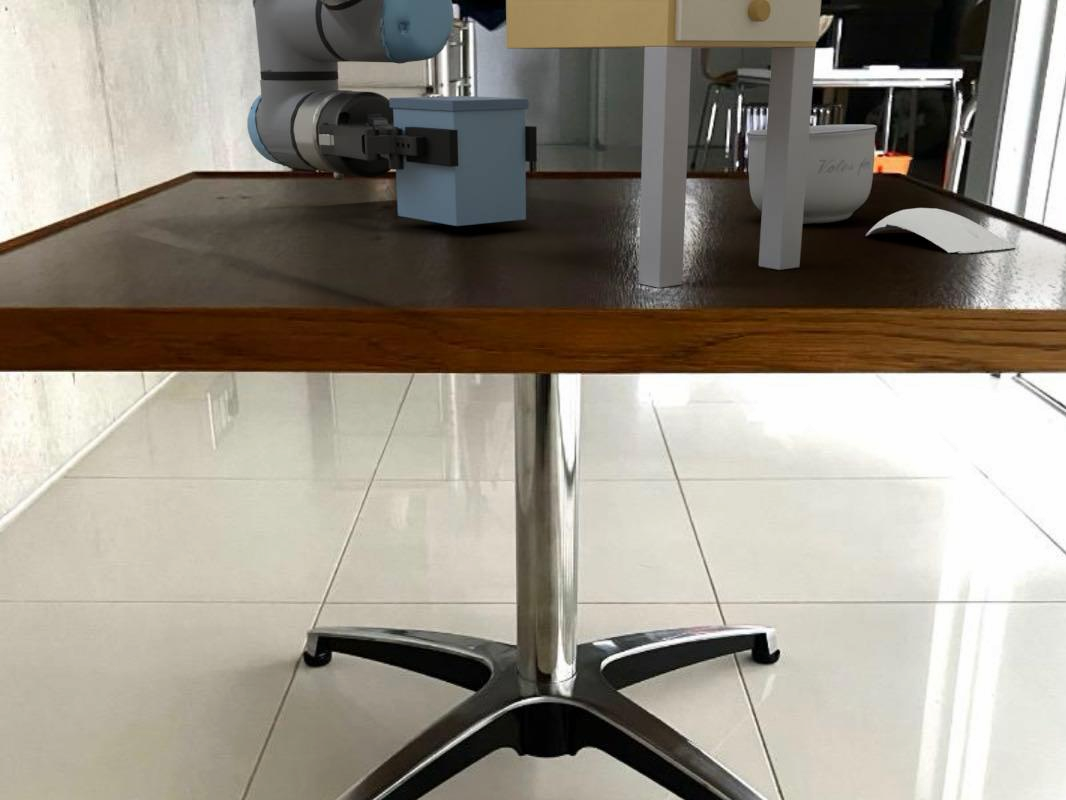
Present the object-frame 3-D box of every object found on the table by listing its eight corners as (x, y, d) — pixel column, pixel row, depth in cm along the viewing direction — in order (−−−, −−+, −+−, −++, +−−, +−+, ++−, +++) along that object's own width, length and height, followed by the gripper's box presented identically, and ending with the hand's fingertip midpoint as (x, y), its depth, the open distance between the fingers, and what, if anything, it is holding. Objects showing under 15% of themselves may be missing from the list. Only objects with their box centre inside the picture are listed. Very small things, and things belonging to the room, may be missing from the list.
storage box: (394, 215, 104) (388, 97, 101) (465, 209, 109) (463, 96, 105) (455, 226, 97) (452, 100, 94) (529, 219, 102) (528, 98, 98)
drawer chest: (508, 257, 88) (504, -83, 80) (643, 241, 95) (652, -72, 87) (674, 291, 75) (689, -111, 67) (815, 270, 82) (844, -95, 74)
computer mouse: (957, 254, 88) (961, 221, 87) (850, 235, 98) (853, 205, 98) (1026, 248, 91) (1031, 216, 90) (915, 230, 101) (918, 201, 100)
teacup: (831, 232, 100) (839, 129, 97) (718, 222, 106) (723, 125, 103) (905, 216, 110) (915, 122, 107) (798, 208, 116) (805, 119, 113)
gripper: (441, 169, 121) (590, 187, 104) (256, 181, 110) (388, 203, 93) (439, 89, 118) (591, 93, 101) (248, 92, 107) (383, 98, 90)
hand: (494, 146), depth 97 cm, fingers closed on storage box, 7 cm apart
